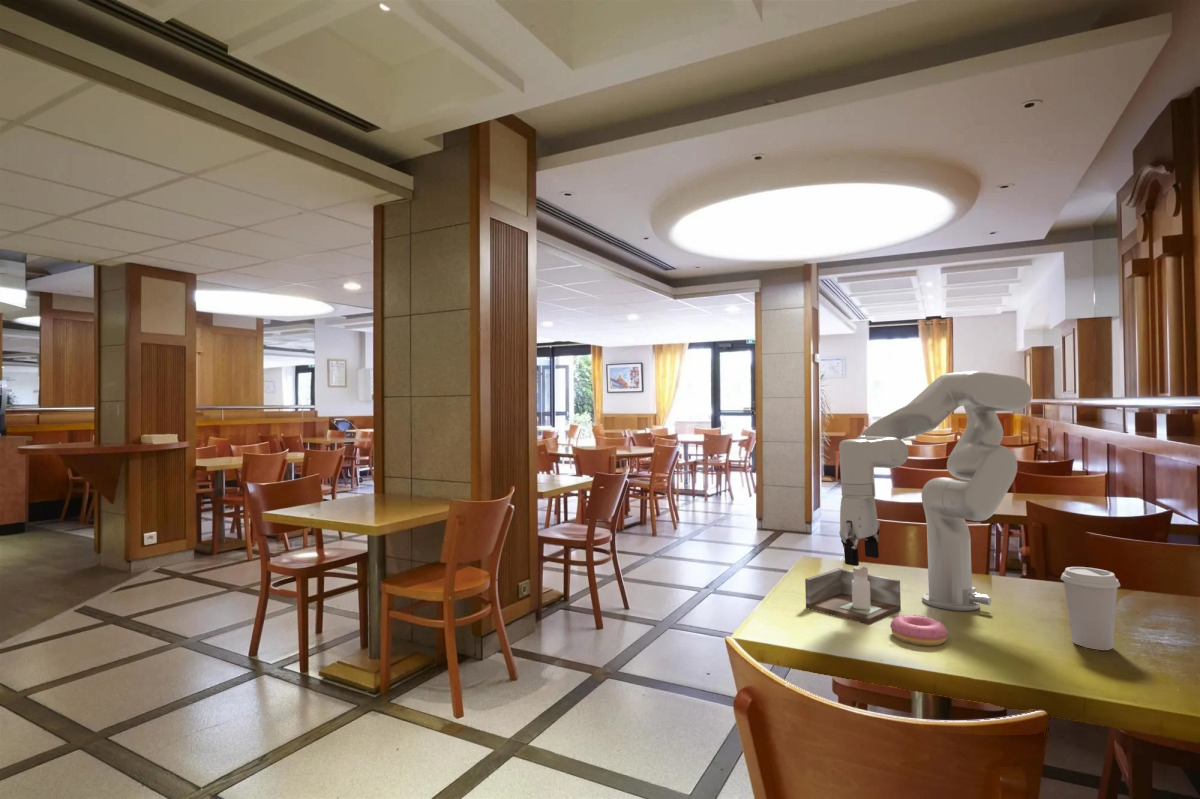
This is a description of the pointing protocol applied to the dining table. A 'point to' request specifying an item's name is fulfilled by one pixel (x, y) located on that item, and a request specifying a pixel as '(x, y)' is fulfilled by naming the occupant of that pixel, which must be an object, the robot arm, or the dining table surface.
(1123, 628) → the dining table surface
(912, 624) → the doughnut
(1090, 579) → the coffee cup
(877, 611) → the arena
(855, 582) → the salt shaker
